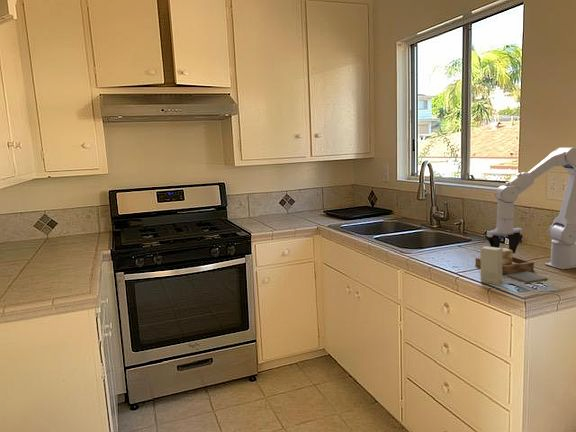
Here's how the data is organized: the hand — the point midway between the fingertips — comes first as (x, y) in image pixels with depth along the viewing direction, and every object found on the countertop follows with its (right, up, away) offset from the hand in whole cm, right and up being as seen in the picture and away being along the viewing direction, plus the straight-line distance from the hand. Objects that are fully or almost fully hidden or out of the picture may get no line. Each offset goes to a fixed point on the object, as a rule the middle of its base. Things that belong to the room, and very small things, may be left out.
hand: (503, 253), depth 169 cm
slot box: (0, -5, +1) cm, 5 cm away
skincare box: (-12, -9, -15) cm, 21 cm away
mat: (+2, -7, -12) cm, 14 cm away
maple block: (0, -3, +1) cm, 3 cm away
